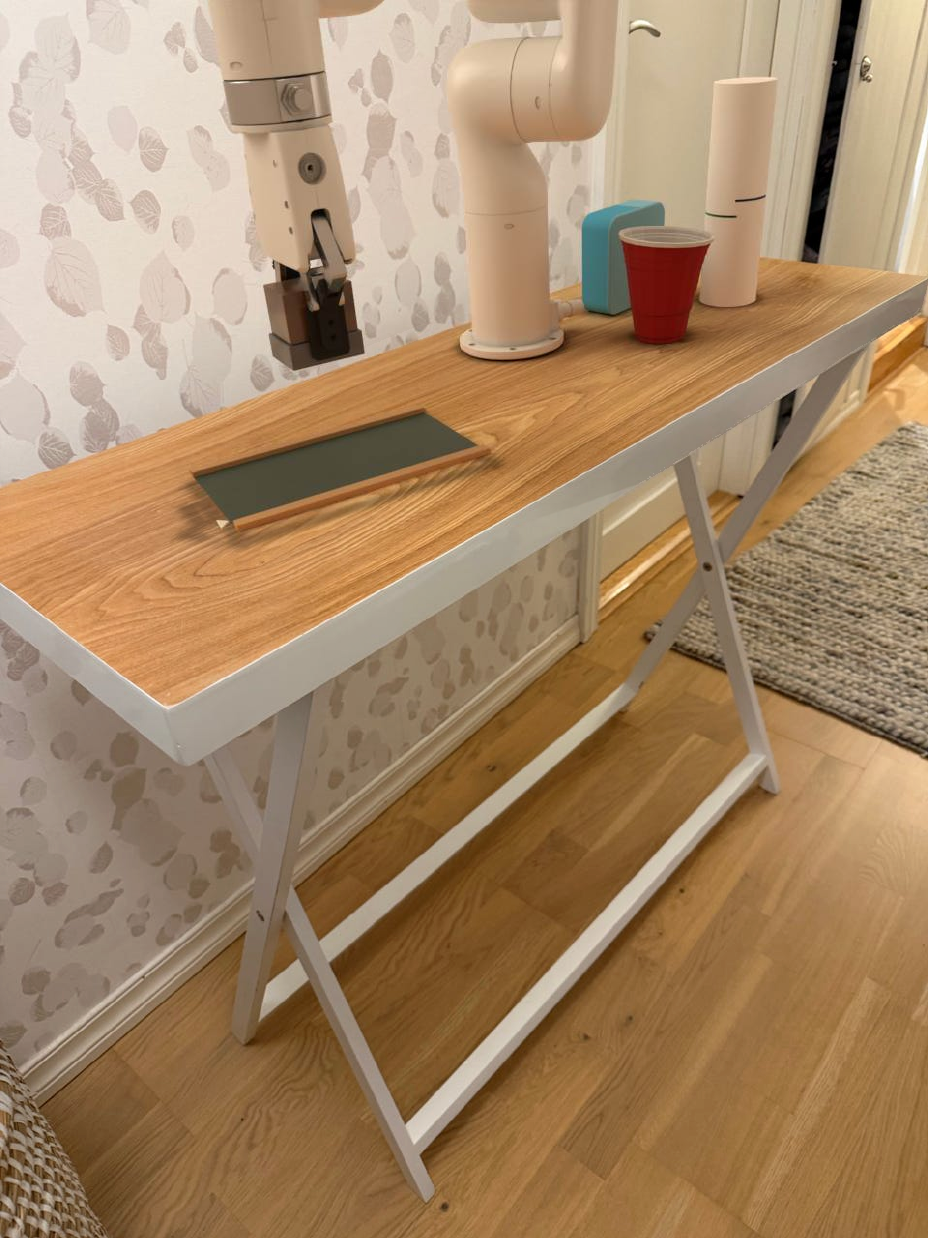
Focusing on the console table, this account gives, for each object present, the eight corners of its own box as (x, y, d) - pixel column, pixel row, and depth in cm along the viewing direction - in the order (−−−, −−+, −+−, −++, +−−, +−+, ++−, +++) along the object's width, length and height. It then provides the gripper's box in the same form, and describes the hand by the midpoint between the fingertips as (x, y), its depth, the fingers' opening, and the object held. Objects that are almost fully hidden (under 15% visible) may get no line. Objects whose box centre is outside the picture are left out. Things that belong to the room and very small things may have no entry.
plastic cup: (726, 340, 108) (735, 231, 102) (644, 356, 106) (648, 246, 99) (677, 317, 117) (682, 215, 110) (600, 332, 114) (601, 228, 108)
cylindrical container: (761, 304, 119) (785, 80, 105) (705, 308, 119) (721, 85, 105) (748, 289, 125) (769, 75, 111) (694, 293, 125) (708, 80, 111)
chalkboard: (420, 419, 95) (418, 403, 94) (491, 464, 85) (490, 447, 84) (193, 484, 86) (188, 467, 85) (241, 544, 76) (236, 525, 75)
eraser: (272, 356, 80) (258, 284, 76) (341, 340, 82) (331, 269, 79) (293, 371, 76) (280, 296, 72) (365, 353, 78) (355, 280, 75)
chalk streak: (197, 522, 79) (195, 519, 78) (231, 524, 77) (228, 520, 76) (187, 534, 78) (184, 530, 78) (220, 535, 76) (218, 532, 76)
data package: (634, 290, 128) (637, 196, 122) (662, 294, 126) (666, 199, 119) (580, 312, 121) (580, 215, 115) (608, 318, 119) (610, 218, 112)
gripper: (373, 103, 64) (402, 363, 74) (285, 94, 76) (320, 317, 86) (270, 117, 61) (315, 385, 71) (197, 105, 73) (243, 334, 84)
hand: (317, 345), depth 79 cm, fingers closed on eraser, 5 cm apart
